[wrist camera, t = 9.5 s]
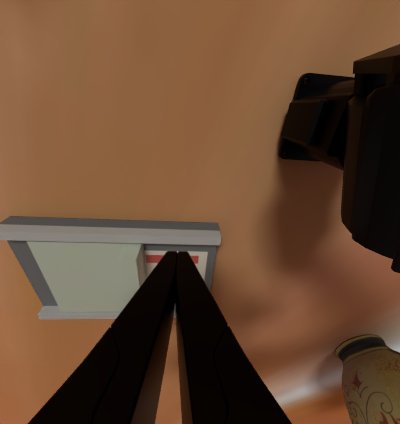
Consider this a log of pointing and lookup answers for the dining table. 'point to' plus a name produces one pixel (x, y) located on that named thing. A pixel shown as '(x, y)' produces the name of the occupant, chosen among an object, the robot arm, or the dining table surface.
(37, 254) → the sage shutter
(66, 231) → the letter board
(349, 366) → the amphora
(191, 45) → the dining table surface
